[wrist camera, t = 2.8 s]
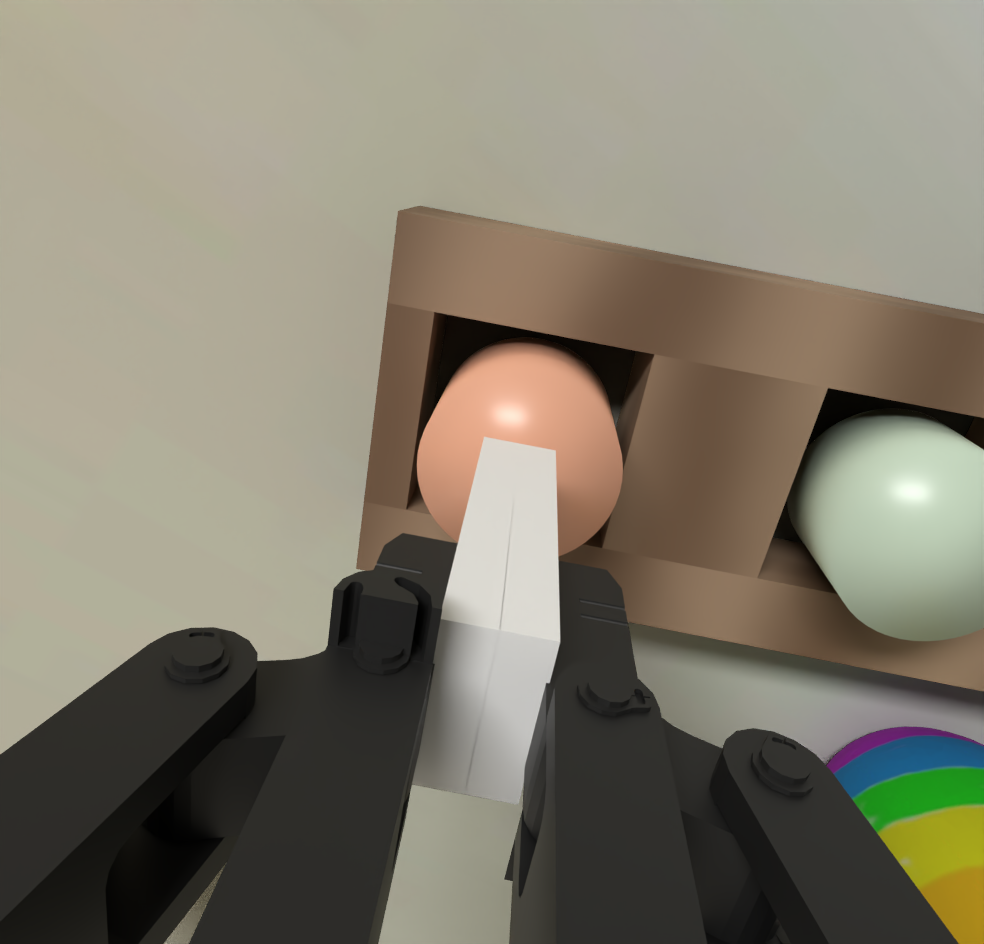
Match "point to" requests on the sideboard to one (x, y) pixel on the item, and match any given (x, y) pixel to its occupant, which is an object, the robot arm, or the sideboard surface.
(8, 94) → the sideboard surface
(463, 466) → the terracotta button
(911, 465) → the sage button
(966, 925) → the decorative egg
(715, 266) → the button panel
